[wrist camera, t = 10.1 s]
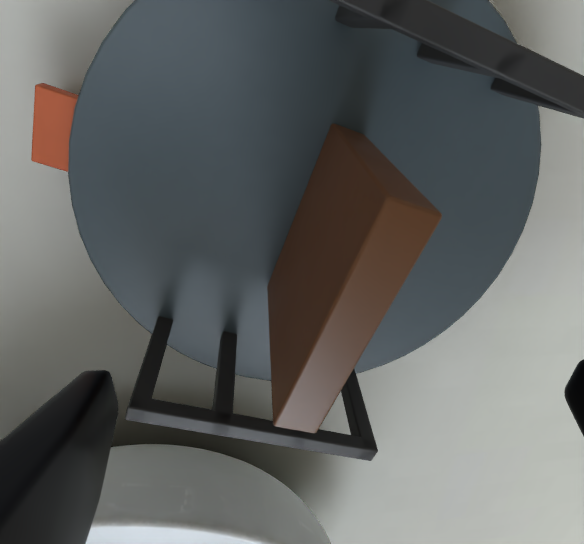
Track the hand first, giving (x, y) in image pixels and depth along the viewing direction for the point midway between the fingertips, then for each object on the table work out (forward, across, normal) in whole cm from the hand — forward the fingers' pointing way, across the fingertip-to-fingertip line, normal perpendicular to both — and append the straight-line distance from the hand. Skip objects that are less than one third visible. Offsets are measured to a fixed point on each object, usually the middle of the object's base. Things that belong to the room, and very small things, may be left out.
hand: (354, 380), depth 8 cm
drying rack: (+9, 0, 0) cm, 9 cm away
